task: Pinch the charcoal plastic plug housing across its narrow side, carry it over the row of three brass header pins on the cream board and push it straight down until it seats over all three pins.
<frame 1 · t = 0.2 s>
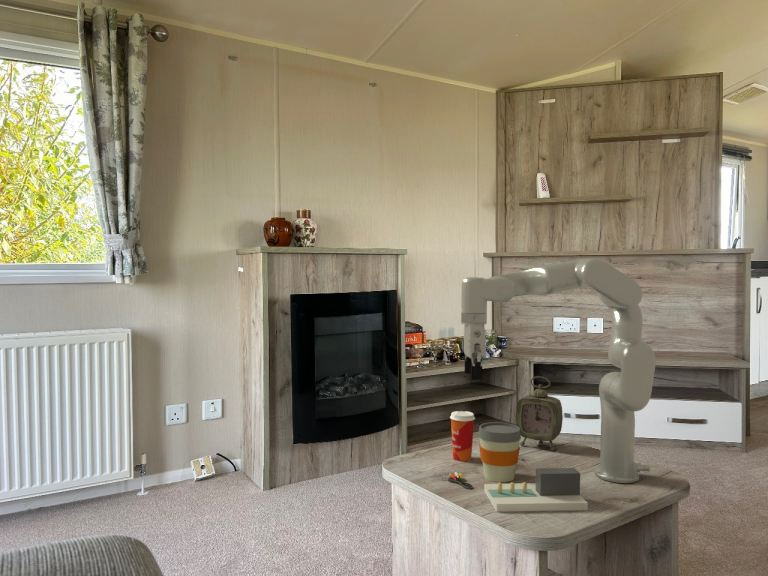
hand: (473, 376, 173), 31 cm above the table, fingers open, 9 cm apart
plug housing: (557, 492, 159), point 2 cm above the table, touching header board
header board: (533, 500, 158), on the table
tabletop clock: (539, 447, 206), on the table
composite cable: (459, 485, 170), on the table
reusable coffee cup: (498, 477, 176), on the table
coffee cup: (462, 459, 193), on the table
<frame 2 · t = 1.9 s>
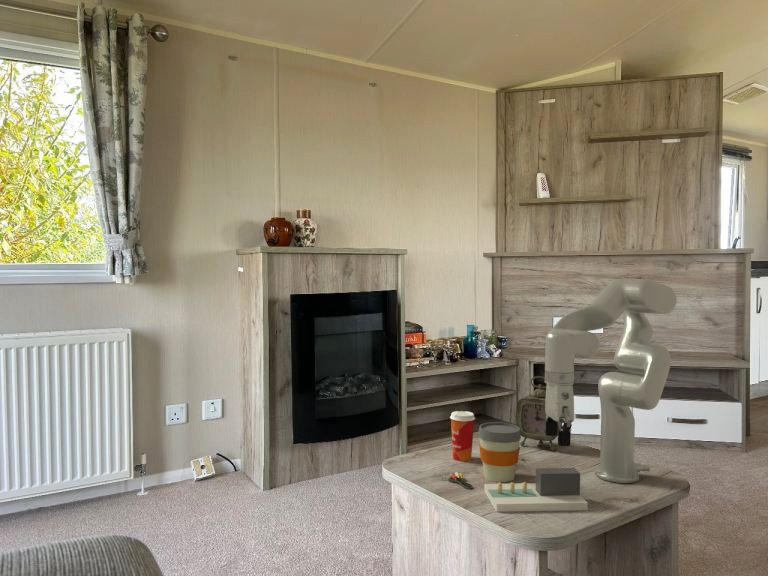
hand: (557, 440, 158), 16 cm above the table, fingers open, 9 cm apart
nothing on the table moved.
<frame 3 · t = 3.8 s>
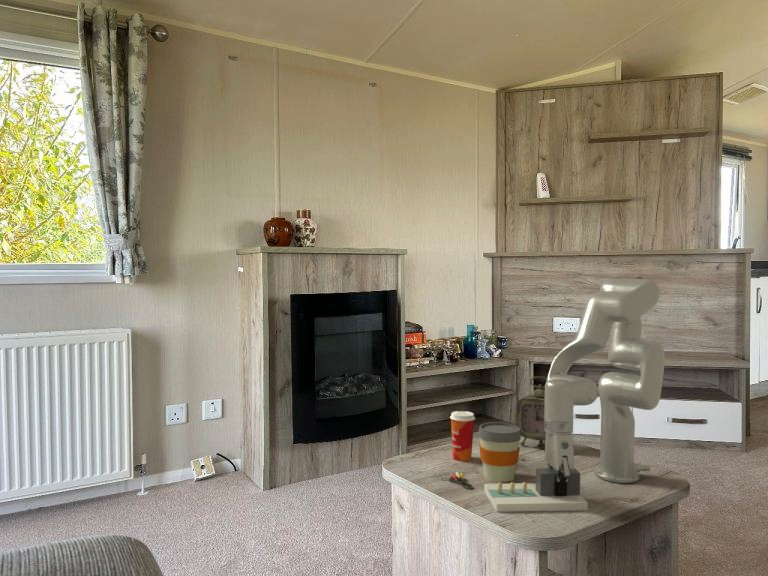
hand: (557, 491, 159), 2 cm above the table, fingers closed on plug housing, 4 cm apart
plug housing: (557, 492, 159), point 2 cm above the table, touching gripper, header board
everything else where it was.
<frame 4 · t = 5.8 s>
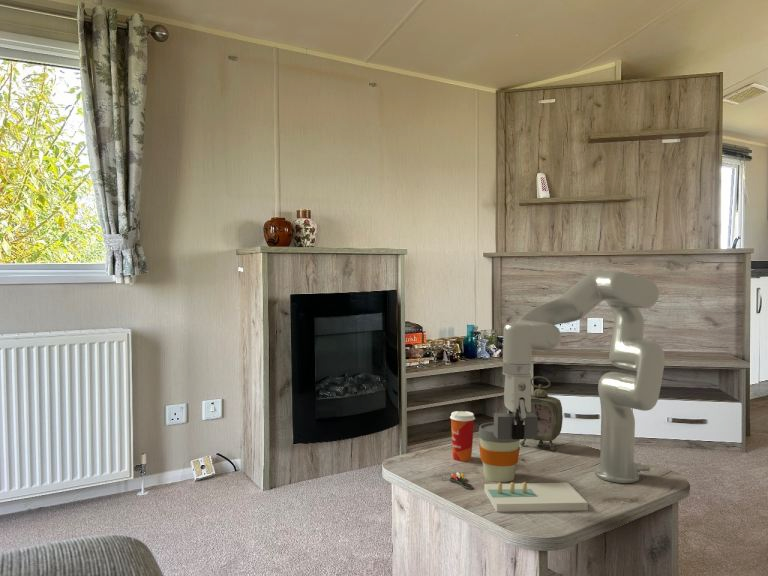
hand: (515, 435, 157), 18 cm above the table, fingers closed on plug housing, 4 cm apart
plug housing: (515, 436, 157), point 17 cm above the table, touching gripper
everything else where it was.
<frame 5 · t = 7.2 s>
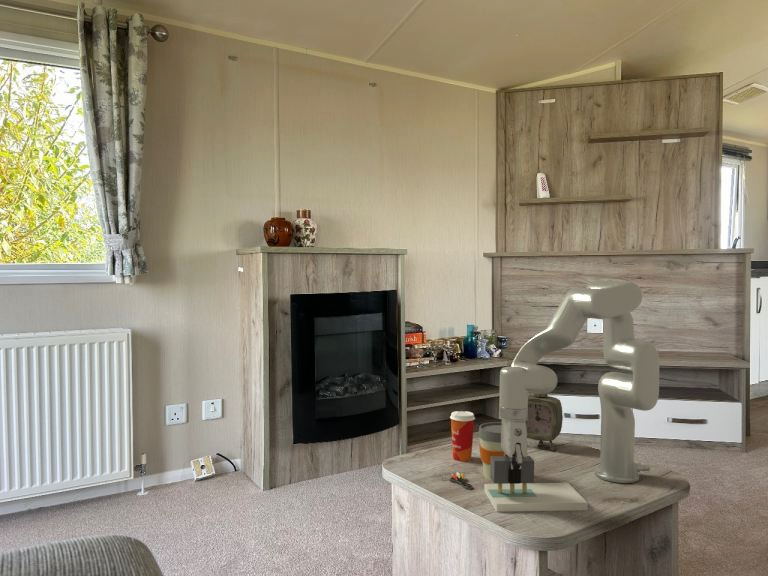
hand: (512, 479, 158), 6 cm above the table, fingers closed on plug housing, 4 cm apart
plug housing: (511, 480, 158), point 6 cm above the table, touching gripper
everything else where it was.
when the fingers open (3 cm above the table, at t = 8.1 s): plug housing stays where it is, resting on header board.
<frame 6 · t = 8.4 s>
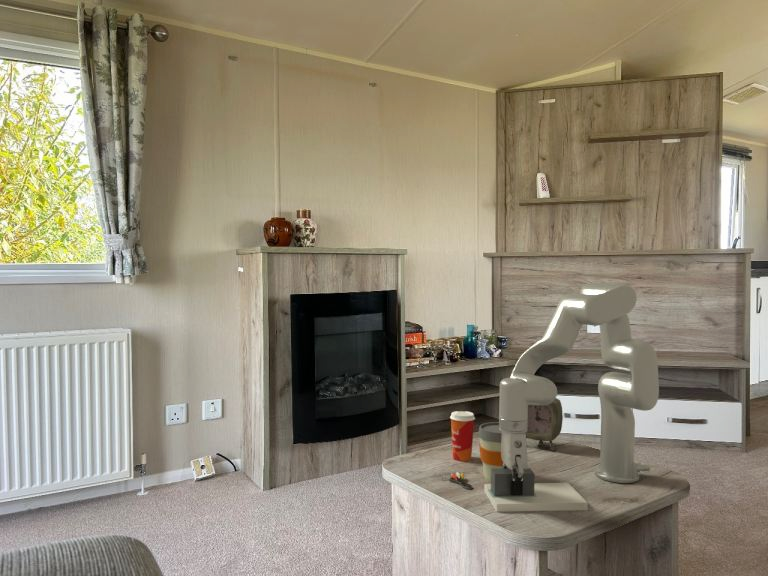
hand: (512, 488, 158), 3 cm above the table, fingers open, 7 cm apart
plug housing: (512, 492, 158), point 2 cm above the table, touching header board
everything else where it was.
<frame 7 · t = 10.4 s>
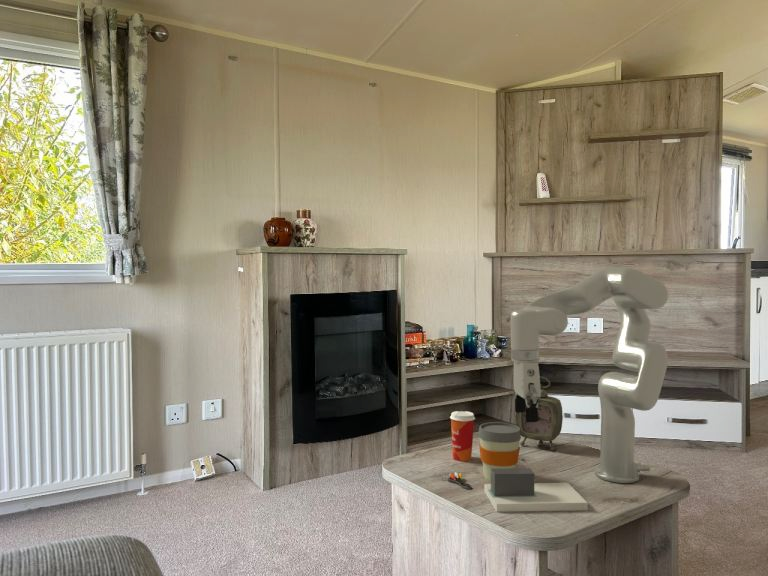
hand: (526, 416, 160), 22 cm above the table, fingers open, 9 cm apart
nothing on the table moved.
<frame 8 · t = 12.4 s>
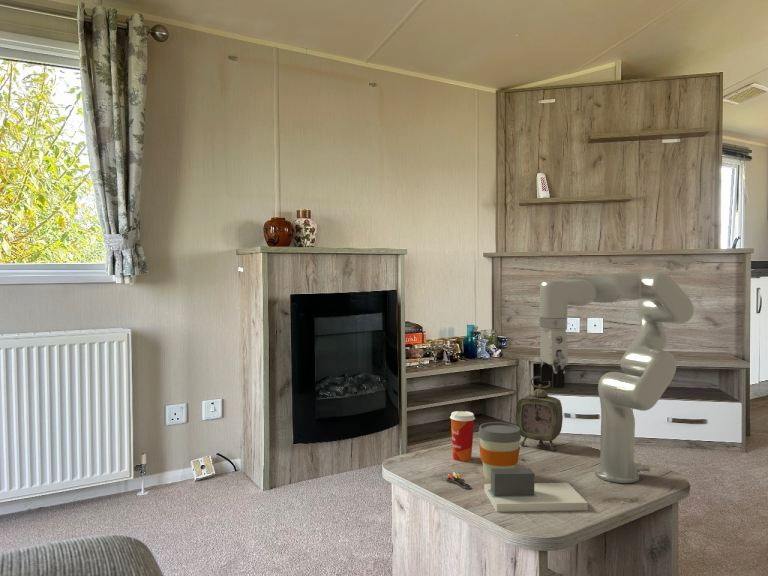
hand: (552, 384, 165), 30 cm above the table, fingers open, 9 cm apart
nothing on the table moved.
at the end: plug housing 0.0 cm from the target spot on the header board, point 2.1 cm above the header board's base; plug housing tilted 0°; the gripper is holding nothing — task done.
